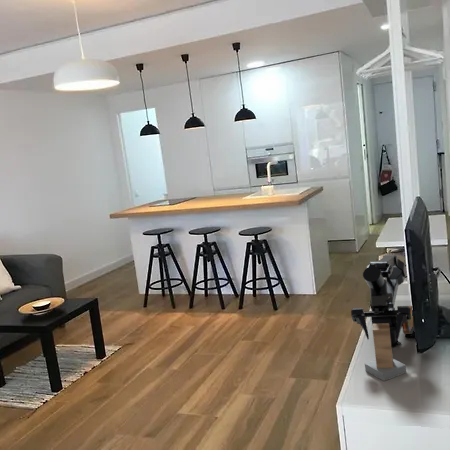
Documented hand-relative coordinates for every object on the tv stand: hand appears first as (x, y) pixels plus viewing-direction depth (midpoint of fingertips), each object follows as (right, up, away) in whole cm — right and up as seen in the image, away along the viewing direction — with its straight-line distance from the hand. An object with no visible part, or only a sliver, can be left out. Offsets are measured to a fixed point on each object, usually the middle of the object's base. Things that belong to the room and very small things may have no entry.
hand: (382, 338), depth 163 cm
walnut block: (+1, -8, -1) cm, 8 cm away
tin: (+19, -3, +27) cm, 34 cm away
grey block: (+1, -11, 0) cm, 11 cm away
